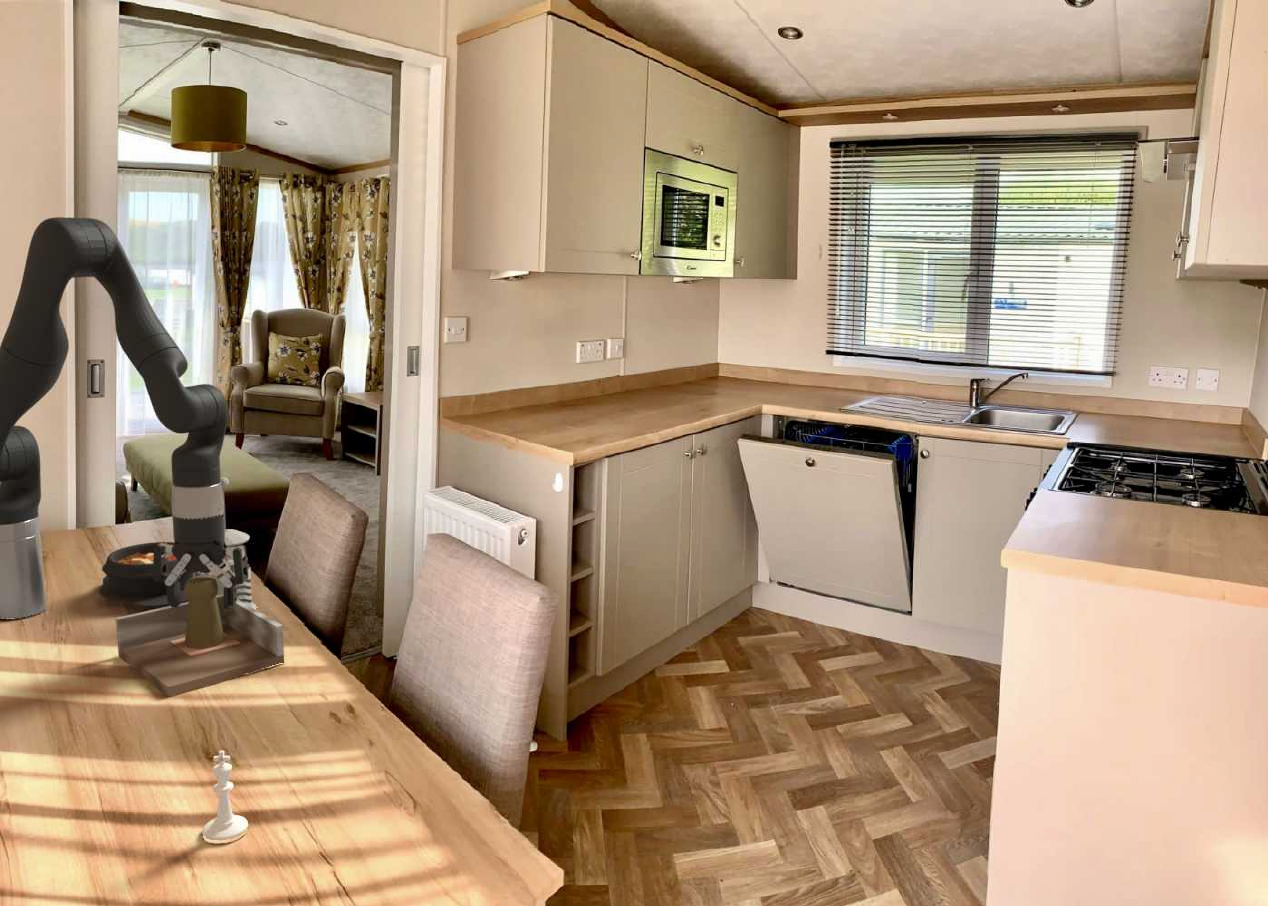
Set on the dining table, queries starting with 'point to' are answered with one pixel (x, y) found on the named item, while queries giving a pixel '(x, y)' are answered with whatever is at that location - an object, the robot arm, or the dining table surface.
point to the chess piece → (224, 805)
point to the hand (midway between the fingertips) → (202, 606)
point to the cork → (203, 613)
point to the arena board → (177, 669)
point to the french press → (231, 540)
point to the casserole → (138, 577)
